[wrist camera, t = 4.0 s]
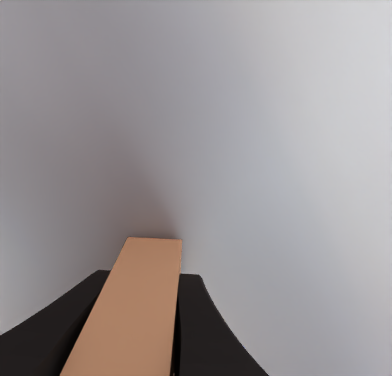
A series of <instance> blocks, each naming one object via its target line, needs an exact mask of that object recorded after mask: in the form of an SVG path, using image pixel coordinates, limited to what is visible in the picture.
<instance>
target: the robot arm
mask: <svg viewBox="0 0 392 376" xmlns="http://www.w3.org/2000/svg"><path fill="white" fill-rule="evenodd" d="M110 272H111V271H107V270H98V271H96V272H94V273H93V274H92V275H90V276H89V277H87V278H86V279H85V280H83V281H82V282H81V283H79V284H78V285H76V286H75V287H74V288H72V289H71V290H70V291H68V292H67V293H65V294H64V295H63V296H61V297H60V298H58V299H57V300H56V301H54V302H53V303H51V304H50V305H48V306H47V307H45V308H44V309H42V310H41V311H39V312H38V313H36V314H35V315H33V316H31V317H30V318H28V319H27V320H25V321H24V322H22V323H21V324H19V325H18V326H16V327H14V328H13V329H11V330H9V331H7V332H6V333H4V334H2V335H0V376H60V374H61V372H62V370H63V368H64V366H65V364H66V361H67V359H68V357H69V355H70V353H71V351H72V349H73V347H74V345H75V343H76V341H77V339H78V337H79V335H80V333H81V331H82V329H83V327H84V325H85V323H86V321H87V319H88V317H89V315H90V313H91V311H92V309H93V307H94V305H95V303H96V301H97V299H98V297H99V295H100V293H101V290H102V288H103V286H104V284H105V282H106V280H107V278H108V276H109V274H110ZM174 376H269V375H268V374H267V373H266V372H265V371H264V370H263V369H262V368H261V367H260V366H259V364H258V363H257V362H256V361H255V360H254V359H253V358H252V356H251V355H250V354H249V353H248V352H247V351H246V349H245V348H244V347H243V346H242V344H241V343H240V342H239V340H238V339H237V338H236V336H235V335H234V334H233V332H232V331H231V330H230V328H229V327H228V325H227V324H226V322H225V321H224V319H223V318H222V316H221V314H220V313H219V311H218V310H217V308H216V306H215V305H214V303H213V301H212V299H211V297H210V295H209V293H208V291H207V289H206V287H205V285H204V282H203V279H202V278H201V276H200V275H196V274H179V282H178V294H177V316H176V339H175V362H174Z"/></svg>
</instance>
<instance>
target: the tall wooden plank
mask: <svg viewBox="0 0 392 376" xmlns="http://www.w3.org/2000/svg"><path fill="white" fill-rule="evenodd" d="M181 252H182V240H180V239H159V238H139V237H128V238H127V240H126V242H125V244H124V246H123V248H122V250H121V252H120V254H119V256H118V258H117V260H116V262H115V264H114V266H113V268H112V270H111V272H110V274H109V276H108V278H107V280H106V282H105V284H104V286H103V288H102V290H101V293H100V295H99V297H98V299H97V301H96V303H95V305H94V307H93V309H92V311H91V313H90V315H89V317H88V319H87V321H86V323H85V325H84V327H83V329H82V331H81V333H80V335H79V337H78V339H77V341H76V343H75V345H74V347H73V349H72V351H71V353H70V355H69V357H68V359H67V361H66V364H65V366H64V368H63V370H62V372H61V374H60V376H174V362H175V339H176V316H177V294H178V282H179V274H181Z"/></svg>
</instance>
